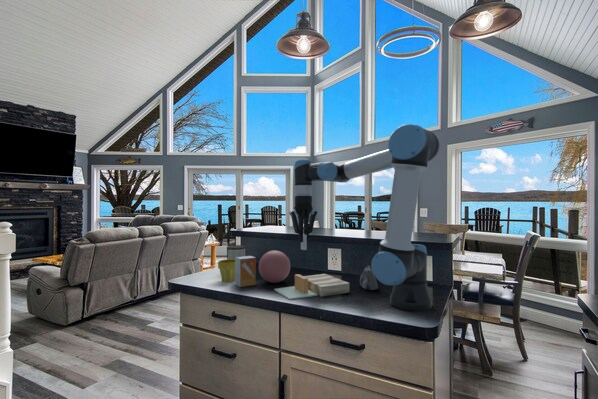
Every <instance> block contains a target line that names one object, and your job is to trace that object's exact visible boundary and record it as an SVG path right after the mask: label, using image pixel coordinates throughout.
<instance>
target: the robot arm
mask: <svg viewBox="0 0 598 399" xmlns="http://www.w3.org/2000/svg"><path fill="white" fill-rule="evenodd" d="M387 141H388V142H387V148H388V149H385V150H381V151H378V152H374V153H371V154H369V155H365V156H363V157H359V158H356V159H355V158H354V159H353V160H349V161H346V162H343V163H340V164H335V163H334V162H332V161H323V162H322V161H321V162H314V163H313V162H312V160H311V159H306V158H302V159H297V160H295V162H294V195H295V196H294V207H293V209H292V210H291V211H289V212H288V214H289V215H290V217H291V220H292V226H293V230H294V233H295V234H296V235H298V242H299V243H300V250H303V251H307V250H308V249H307V248H308V247H307V246H308V245H307V244H308V242H309V235H310V234H312V233H313V230H314V226H315V220H316V216H317V214H318V211H317V210H315V209H314V208H313V206H312V204H313V196H312V195H313V182H336V183H347V182H349V181H350V180H352V179H355V178H359V177H363V176H367V175H371V174H374V173H378V172H382V171H386V170H390V169H393V171H394V174H393V179H392V180H393V181H392V187H391V194H390V199H389V200H390V201H389V207H388V208H389V209H388V216H387V223H386V231H385V235H384V236H385V237H384V239H382V240H380V242H379V247H378V252H377V253H376V254H375V255H374V256H373V257H372V259H371V266H370V267H371V270H372V273H373V274H374V275H375V277H376V280H378V281H379V282H380V283H381V284H383V285H384V286H385V285H386V286H389V287H390V286H392V290H391V294H390V295H389V303H390V305H391V306H393V307H395V308H398V309H401V310H406V311H407V310H408V311H417V312H419V311H426V310H431V309H432V307H433V299H432V297H431V295H430V292H429V291H430V290H429V287H428V282H427V280H428V279H427V276H428V275H427V272H428V269H427V268H428V265H427V262H428V260H427V259H428V257H427V256H428V252H427V247H426V245H424V244H417V243H412V237H413V231H414V224H415V216H416V210H417V203H418V196H419V190H420V182H421V178H422V177H421V176H422V172H424V171H425V170H427V168H428V163H429V162H431V161H432V160H433V159H434V158H435V157H436V156H437V155H438V154H439V151H440V140H439V138H438V136H437V135H436V134H435V133H434V132H432V131H430V130H427V129H425V128H423V127H422V126H420V125H418V124H413V123H412V124H409V123H408V124H406V123H405V124H402V125H400V126H398V127H397V128H396V129H395V130H393V131H392V132H391V134H390V135H389V138H388V140H387Z"/></svg>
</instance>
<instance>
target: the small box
mask: <svg viewBox="0 0 598 399" xmlns="http://www.w3.org/2000/svg"><path fill="white" fill-rule="evenodd" d="M234 283H235V285H236V286H237V287H239V288H243V287H249V286H250V287H251V286H256V285H257V258H256V257H255V256H252V255H245V256H243V257H235V281H234Z"/></svg>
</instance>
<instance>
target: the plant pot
mask: <svg viewBox="0 0 598 399" xmlns="http://www.w3.org/2000/svg"><path fill="white" fill-rule="evenodd" d="M217 267H218V269H219V272H220V277H221V281H222V282H224V283H229V282H230V283H231V282H235V259H227V258H226V259H222V260H218V261H217Z"/></svg>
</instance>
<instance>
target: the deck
mask: <svg viewBox="0 0 598 399" xmlns="http://www.w3.org/2000/svg"><path fill="white" fill-rule="evenodd" d="M304 277H306V278H308V289H309V290H311V291H313V292H315V293H317V294H318V296H319V297H322V298H323V297H327V296H336V295H341V294H342V295H343V294H347V293H350V282H348V281H345V280H342V279H340V278H337V277H334V276H332V275H329V274H327V273H321V274H313V275H304Z"/></svg>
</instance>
